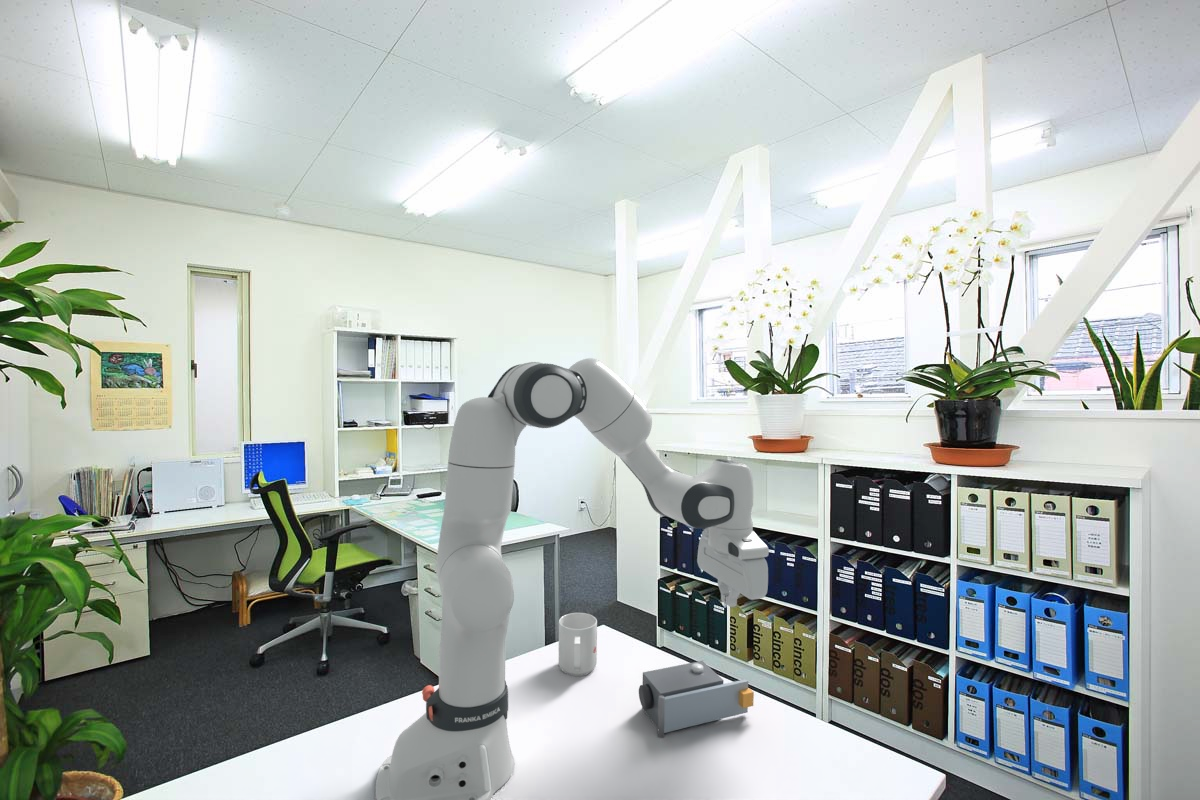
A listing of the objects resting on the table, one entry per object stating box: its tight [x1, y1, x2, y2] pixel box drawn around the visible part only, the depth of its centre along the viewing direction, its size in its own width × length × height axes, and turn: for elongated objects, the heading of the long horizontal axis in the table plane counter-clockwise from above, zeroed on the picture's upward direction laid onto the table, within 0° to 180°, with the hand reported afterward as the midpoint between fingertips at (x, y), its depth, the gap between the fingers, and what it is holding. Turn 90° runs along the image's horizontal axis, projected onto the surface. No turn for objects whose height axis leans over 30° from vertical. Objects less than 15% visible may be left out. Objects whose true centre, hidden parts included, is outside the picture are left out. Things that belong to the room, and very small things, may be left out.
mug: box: [558, 612, 598, 677], centre depth 126 cm, size 12×9×11 cm
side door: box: [657, 678, 755, 739], centre depth 106 cm, size 20×2×7 cm, turn 111°
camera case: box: [638, 660, 724, 730], centre depth 110 cm, size 15×8×8 cm, turn 111°
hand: (728, 604), depth 113 cm, fingers closed
